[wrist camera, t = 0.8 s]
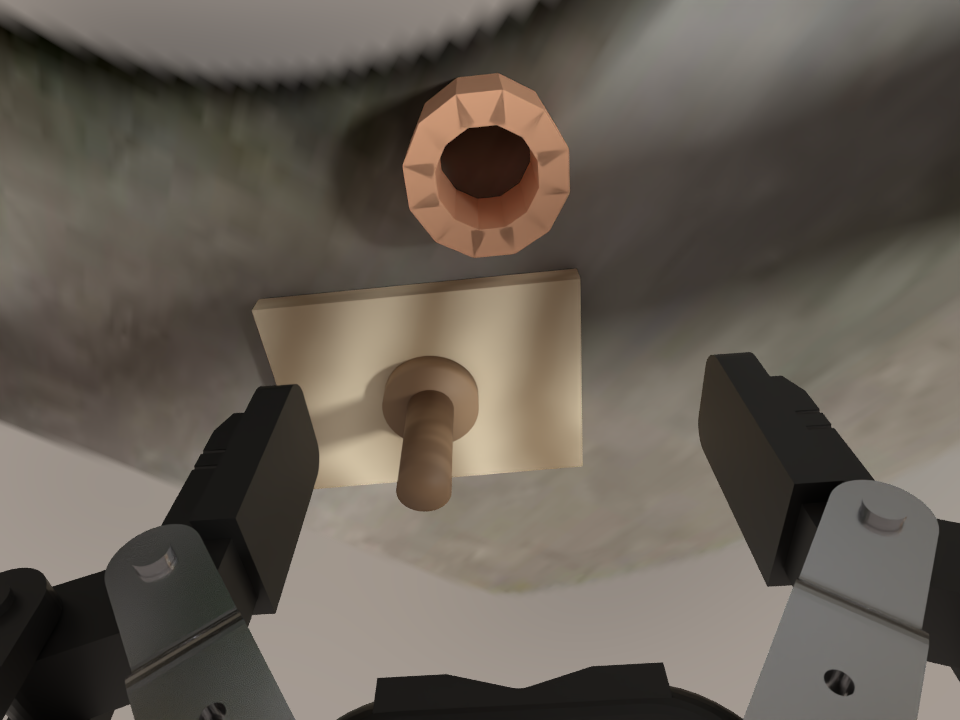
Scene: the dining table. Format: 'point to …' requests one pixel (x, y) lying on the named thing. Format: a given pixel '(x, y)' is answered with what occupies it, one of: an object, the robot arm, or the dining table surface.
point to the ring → (491, 219)
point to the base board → (446, 333)
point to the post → (429, 425)
